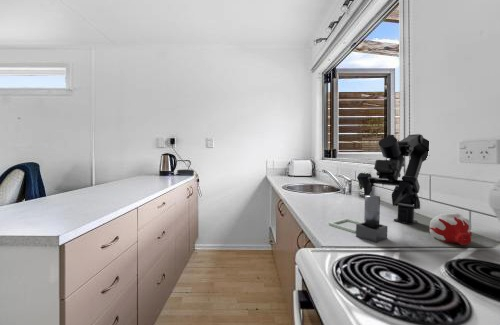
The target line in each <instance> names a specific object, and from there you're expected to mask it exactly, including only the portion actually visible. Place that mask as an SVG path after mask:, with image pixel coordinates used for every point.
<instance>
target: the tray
mask: <svg viewBox="0 0 500 325" xmlns="http://www.w3.org/2000/svg"><path fill="white" fill-rule="evenodd" d="M345 222H348V223H352V224H355V225H356V224H360V223H363V222H364V221H363V222H362V221H358V220H354V219H352V218H351V219H350V218H342V219H338V220H335V221H331V222H328V226H331V227H333V228H337V229H341V230H343V231H347V232H351V233H354V234H356V228H355V229H353V228H351V227H346V226H344V225H340V224H341V223H345Z"/></svg>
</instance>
